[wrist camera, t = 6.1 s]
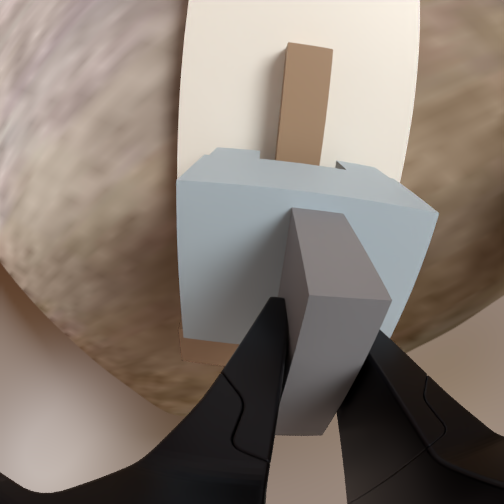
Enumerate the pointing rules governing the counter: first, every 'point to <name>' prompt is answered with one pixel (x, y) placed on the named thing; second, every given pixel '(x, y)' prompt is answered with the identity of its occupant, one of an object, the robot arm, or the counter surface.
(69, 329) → the counter surface
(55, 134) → the counter surface
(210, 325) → the cabinet block
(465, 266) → the counter surface
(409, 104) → the mounting board
